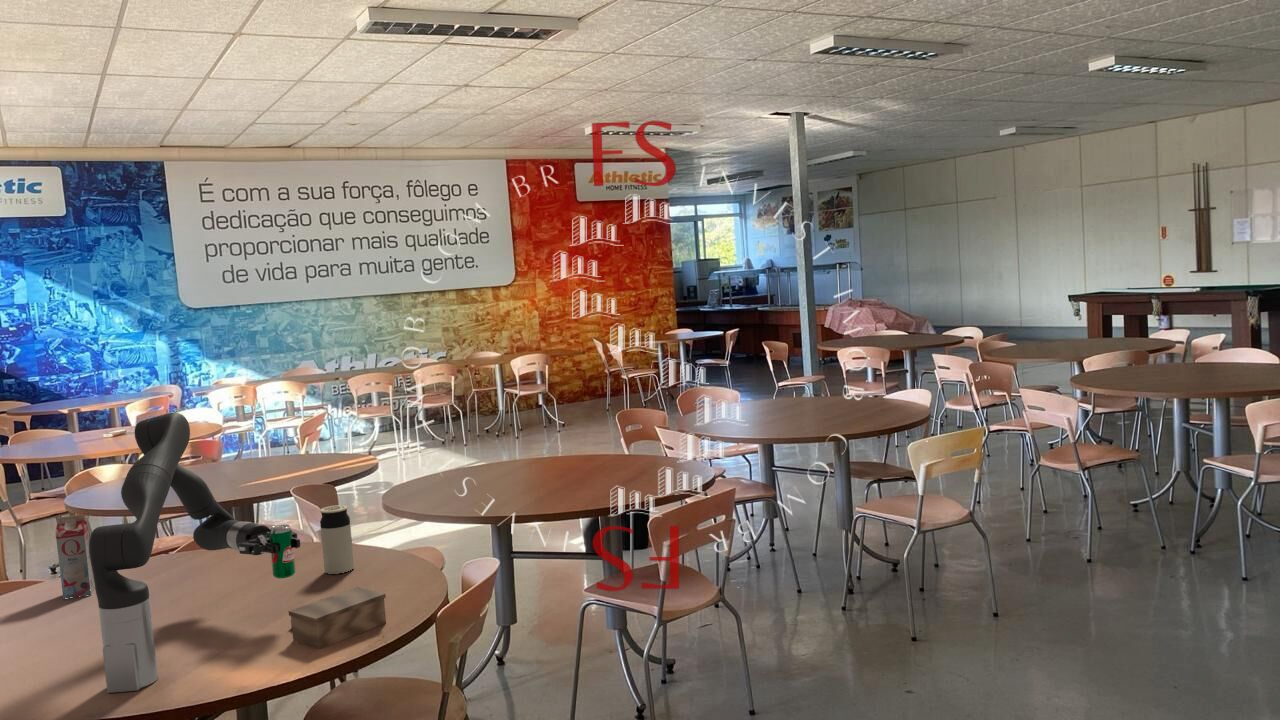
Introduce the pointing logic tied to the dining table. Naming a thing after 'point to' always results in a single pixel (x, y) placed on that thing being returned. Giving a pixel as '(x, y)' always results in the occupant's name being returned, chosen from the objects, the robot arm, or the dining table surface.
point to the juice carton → (74, 556)
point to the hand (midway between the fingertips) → (287, 546)
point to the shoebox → (338, 617)
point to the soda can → (282, 551)
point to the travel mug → (336, 539)
